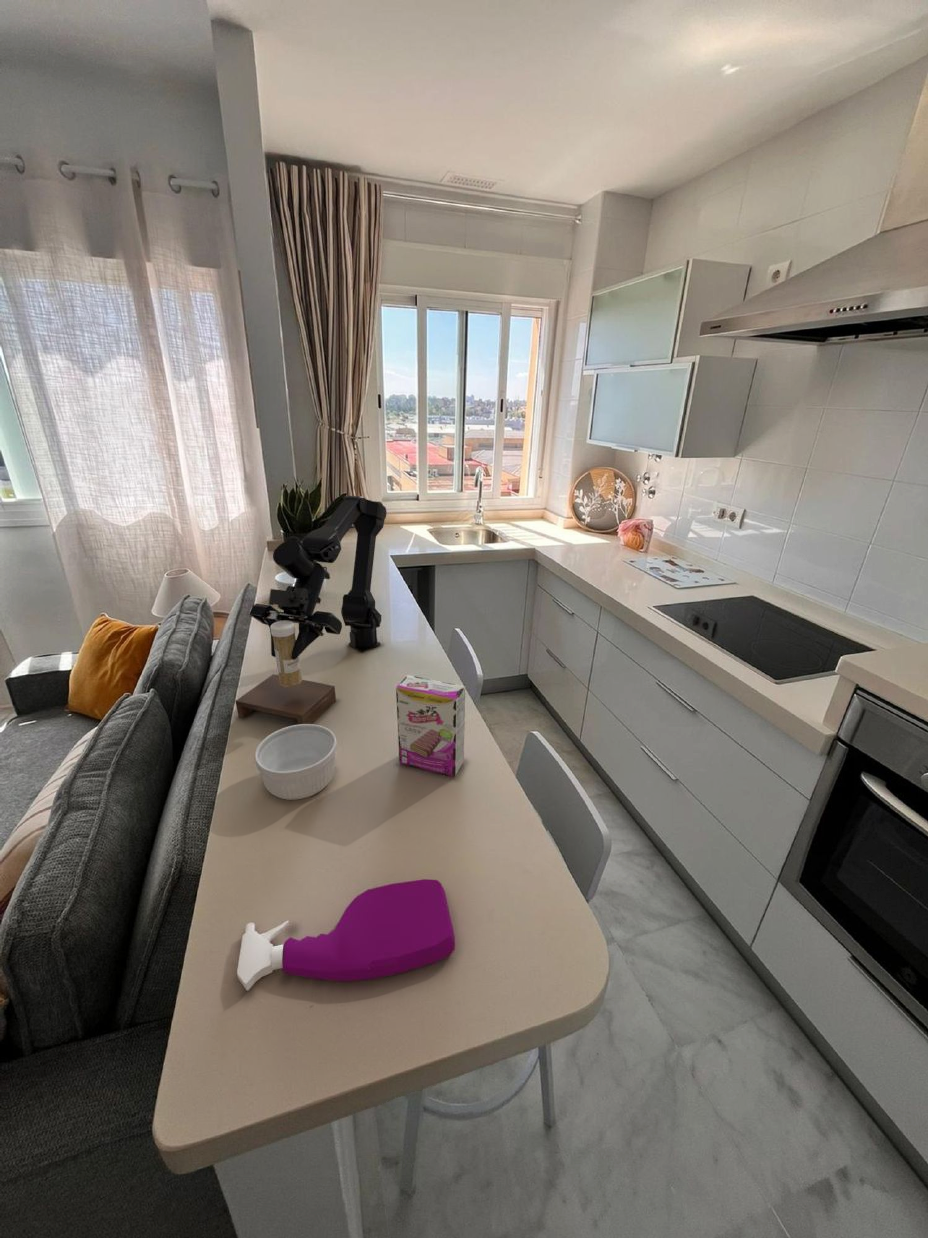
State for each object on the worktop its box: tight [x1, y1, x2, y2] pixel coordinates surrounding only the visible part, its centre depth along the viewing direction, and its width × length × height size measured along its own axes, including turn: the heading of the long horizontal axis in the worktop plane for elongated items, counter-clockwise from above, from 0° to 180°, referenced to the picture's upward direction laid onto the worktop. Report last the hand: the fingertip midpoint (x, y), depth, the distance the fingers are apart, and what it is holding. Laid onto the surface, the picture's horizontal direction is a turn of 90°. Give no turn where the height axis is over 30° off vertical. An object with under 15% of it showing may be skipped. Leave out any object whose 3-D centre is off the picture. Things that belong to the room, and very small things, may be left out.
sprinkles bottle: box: [270, 620, 303, 687], centre depth 101 cm, size 5×5×13 cm
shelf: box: [235, 673, 337, 725], centre depth 106 cm, size 12×16×4 cm
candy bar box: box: [395, 674, 466, 778], centre depth 87 cm, size 11×5×16 cm, turn 71°
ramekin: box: [254, 723, 338, 801], centre depth 85 cm, size 13×13×7 cm
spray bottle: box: [236, 878, 456, 991], centre depth 59 cm, size 3×11×24 cm
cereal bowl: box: [274, 571, 327, 591], centre depth 171 cm, size 17×17×7 cm
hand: (282, 657), depth 100 cm, fingers closed on sprinkles bottle, 4 cm apart
